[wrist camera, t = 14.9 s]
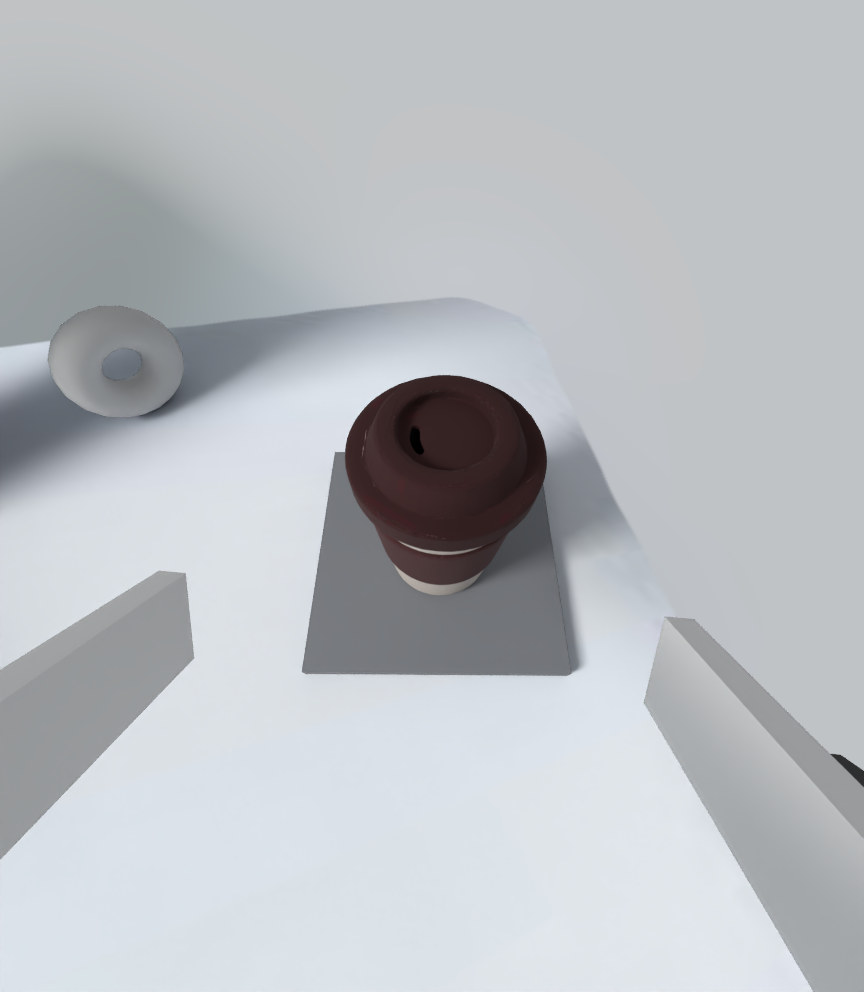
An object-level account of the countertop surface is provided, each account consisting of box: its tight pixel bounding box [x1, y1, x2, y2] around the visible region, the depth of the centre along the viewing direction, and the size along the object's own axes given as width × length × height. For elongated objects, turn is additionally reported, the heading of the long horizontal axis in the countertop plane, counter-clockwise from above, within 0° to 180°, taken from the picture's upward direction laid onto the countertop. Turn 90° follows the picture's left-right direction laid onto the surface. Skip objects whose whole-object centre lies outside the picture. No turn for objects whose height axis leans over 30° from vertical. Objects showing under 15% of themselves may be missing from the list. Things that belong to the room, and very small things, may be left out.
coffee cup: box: [345, 375, 547, 595], centre depth 25 cm, size 10×10×15 cm
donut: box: [48, 306, 184, 418], centre depth 36 cm, size 10×3×10 cm, turn 139°
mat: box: [302, 452, 571, 676], centre depth 32 cm, size 18×18×1 cm
